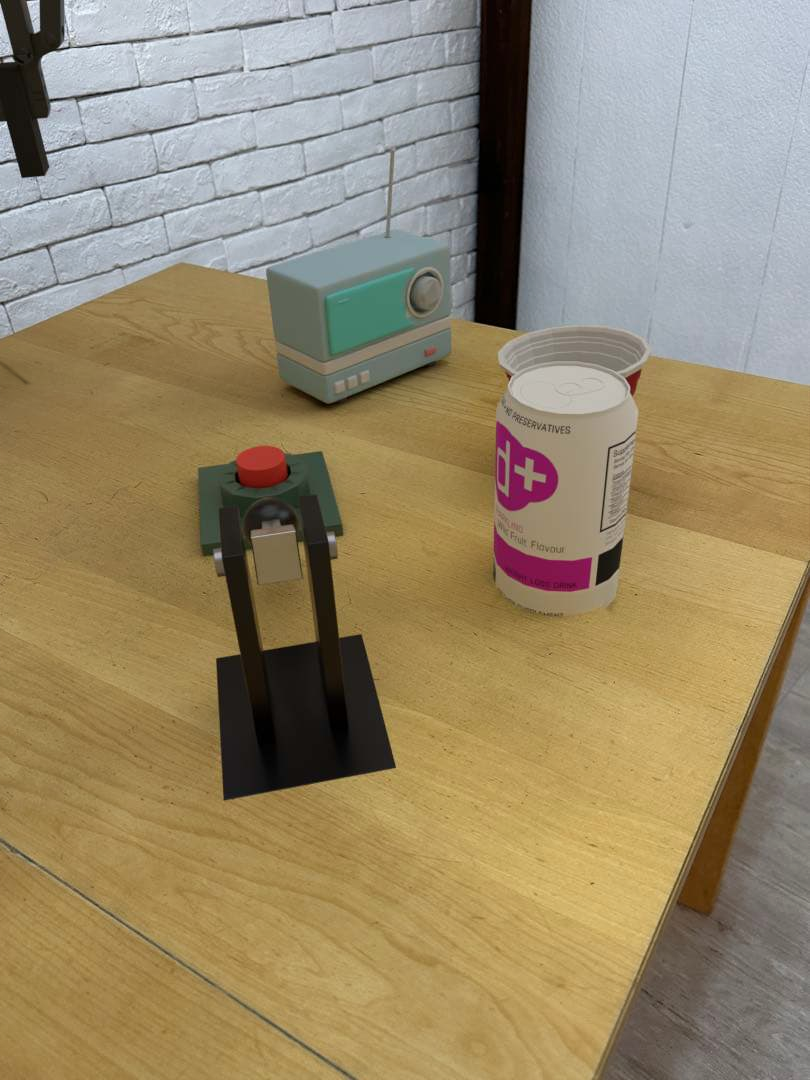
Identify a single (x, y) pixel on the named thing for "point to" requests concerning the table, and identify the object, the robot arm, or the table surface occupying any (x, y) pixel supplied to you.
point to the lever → (273, 540)
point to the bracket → (294, 681)
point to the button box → (264, 495)
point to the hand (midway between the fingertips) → (35, 172)
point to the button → (261, 467)
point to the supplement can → (562, 486)
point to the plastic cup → (578, 350)
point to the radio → (361, 311)
